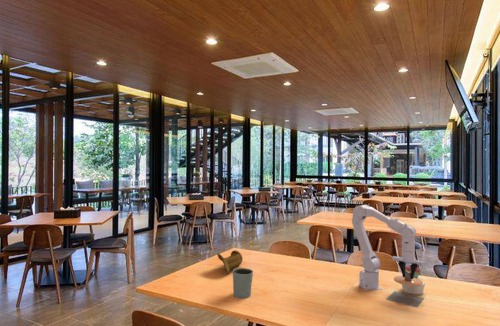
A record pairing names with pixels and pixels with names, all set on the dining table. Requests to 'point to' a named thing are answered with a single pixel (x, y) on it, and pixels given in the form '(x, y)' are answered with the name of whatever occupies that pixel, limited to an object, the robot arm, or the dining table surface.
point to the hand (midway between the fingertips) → (408, 277)
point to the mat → (405, 299)
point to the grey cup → (242, 282)
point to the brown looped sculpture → (231, 260)
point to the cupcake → (415, 271)
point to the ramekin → (413, 289)
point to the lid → (408, 280)
